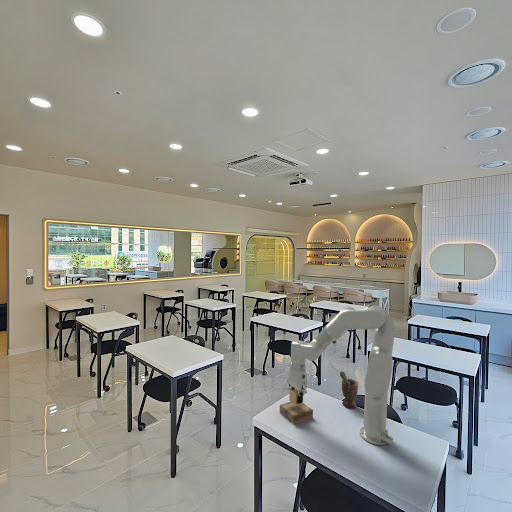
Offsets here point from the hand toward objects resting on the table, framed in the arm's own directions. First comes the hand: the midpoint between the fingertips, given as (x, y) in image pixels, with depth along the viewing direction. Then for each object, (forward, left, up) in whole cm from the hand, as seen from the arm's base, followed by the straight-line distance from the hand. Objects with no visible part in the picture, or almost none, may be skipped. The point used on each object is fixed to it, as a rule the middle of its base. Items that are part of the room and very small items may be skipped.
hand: (296, 400), depth 149 cm
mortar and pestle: (-7, -31, -8) cm, 33 cm away
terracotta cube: (0, 0, -1) cm, 1 cm away
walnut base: (0, 0, -8) cm, 8 cm away
